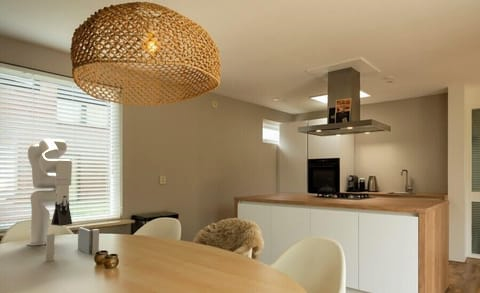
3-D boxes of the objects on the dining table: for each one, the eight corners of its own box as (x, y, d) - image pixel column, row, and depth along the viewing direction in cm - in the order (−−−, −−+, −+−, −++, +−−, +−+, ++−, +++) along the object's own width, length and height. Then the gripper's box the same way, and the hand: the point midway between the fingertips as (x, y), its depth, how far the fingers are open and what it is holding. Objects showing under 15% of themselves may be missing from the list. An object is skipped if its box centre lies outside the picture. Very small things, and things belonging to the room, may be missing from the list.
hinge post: (90, 253, 174) (91, 229, 175) (96, 252, 176) (97, 228, 177) (92, 254, 172) (93, 230, 173) (98, 253, 174) (99, 229, 175)
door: (92, 254, 173) (92, 229, 174) (89, 254, 172) (90, 230, 173) (80, 248, 185) (81, 226, 186) (77, 249, 184) (78, 226, 185)
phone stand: (51, 224, 173) (51, 201, 174) (62, 223, 178) (62, 200, 179) (61, 225, 168) (61, 202, 170) (72, 224, 174) (72, 201, 175)
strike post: (45, 260, 161) (46, 234, 162) (52, 259, 163) (53, 233, 164) (46, 261, 159) (47, 235, 159) (53, 260, 160) (54, 234, 161)
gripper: (52, 182, 179) (51, 216, 178) (58, 183, 166) (56, 220, 165) (67, 182, 184) (66, 215, 183) (74, 183, 171) (73, 218, 170)
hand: (61, 217), depth 174 cm, fingers closed on phone stand, 3 cm apart
